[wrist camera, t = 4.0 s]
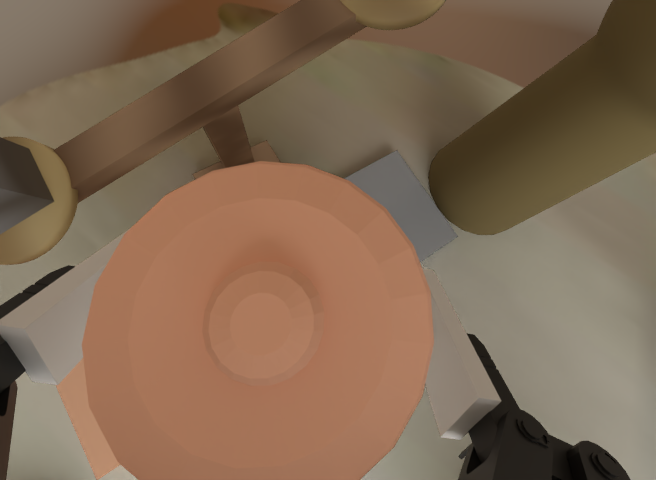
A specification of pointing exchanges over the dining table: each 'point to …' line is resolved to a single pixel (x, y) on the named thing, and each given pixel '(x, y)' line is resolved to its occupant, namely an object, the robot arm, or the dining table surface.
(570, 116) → the pepper shaker
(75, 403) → the orange square coaster
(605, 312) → the dining table surface
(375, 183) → the dish slate
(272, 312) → the pepper shaker
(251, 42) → the balance
